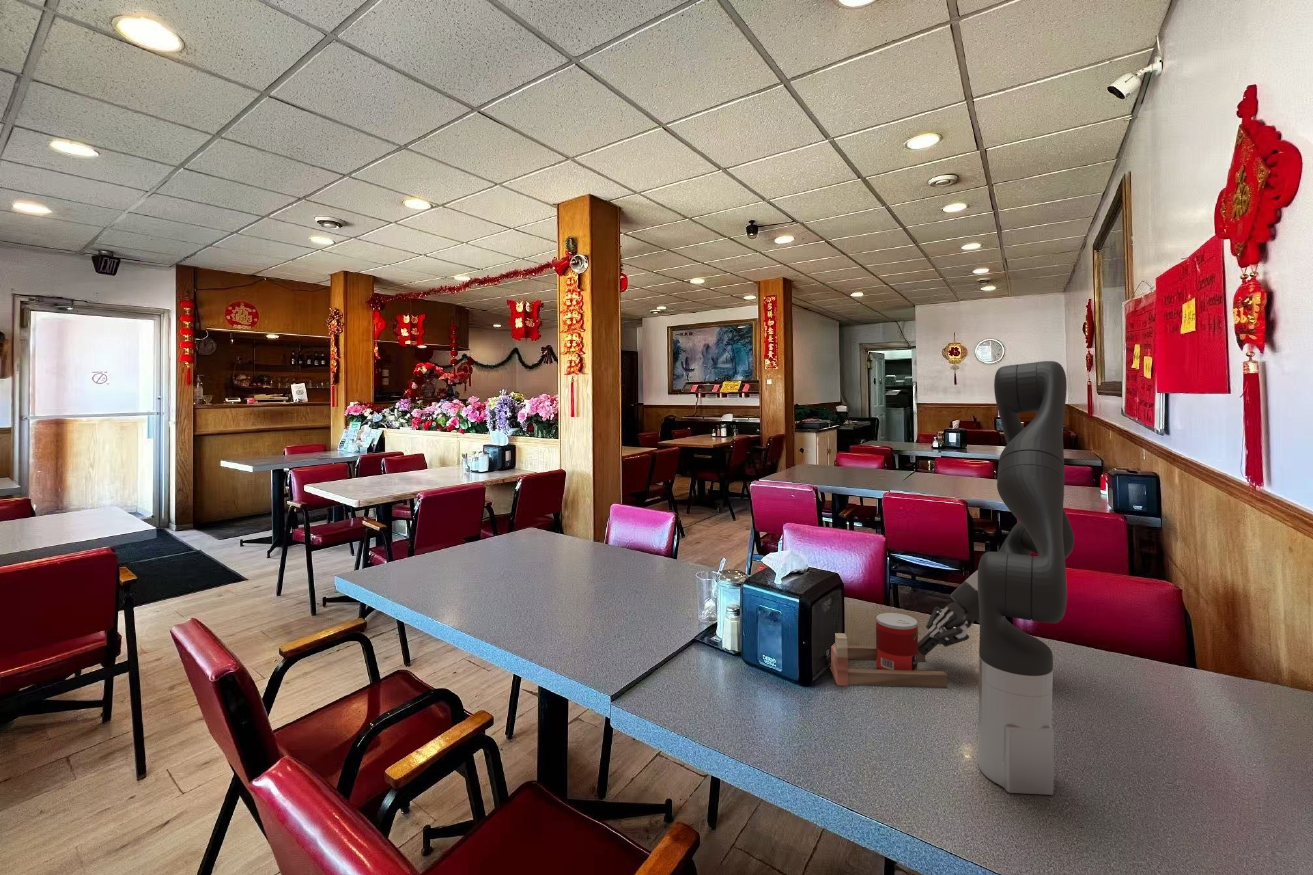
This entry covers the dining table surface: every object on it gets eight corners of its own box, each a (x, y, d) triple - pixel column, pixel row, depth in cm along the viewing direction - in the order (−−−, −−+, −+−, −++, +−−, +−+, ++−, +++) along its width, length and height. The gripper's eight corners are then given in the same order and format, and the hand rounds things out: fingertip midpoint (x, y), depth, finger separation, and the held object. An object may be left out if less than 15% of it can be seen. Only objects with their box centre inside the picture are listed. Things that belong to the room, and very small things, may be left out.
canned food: (922, 680, 112) (922, 627, 112) (880, 678, 114) (880, 625, 113) (912, 663, 120) (911, 613, 119) (872, 661, 121) (872, 611, 120)
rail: (948, 688, 109) (948, 641, 108) (837, 685, 111) (837, 638, 110) (921, 656, 123) (921, 614, 122) (824, 654, 125) (823, 612, 124)
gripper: (954, 571, 121) (896, 626, 123) (983, 591, 107) (916, 652, 110) (980, 595, 120) (921, 650, 122) (1012, 619, 107) (945, 679, 109)
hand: (919, 651), depth 116 cm, fingers closed
